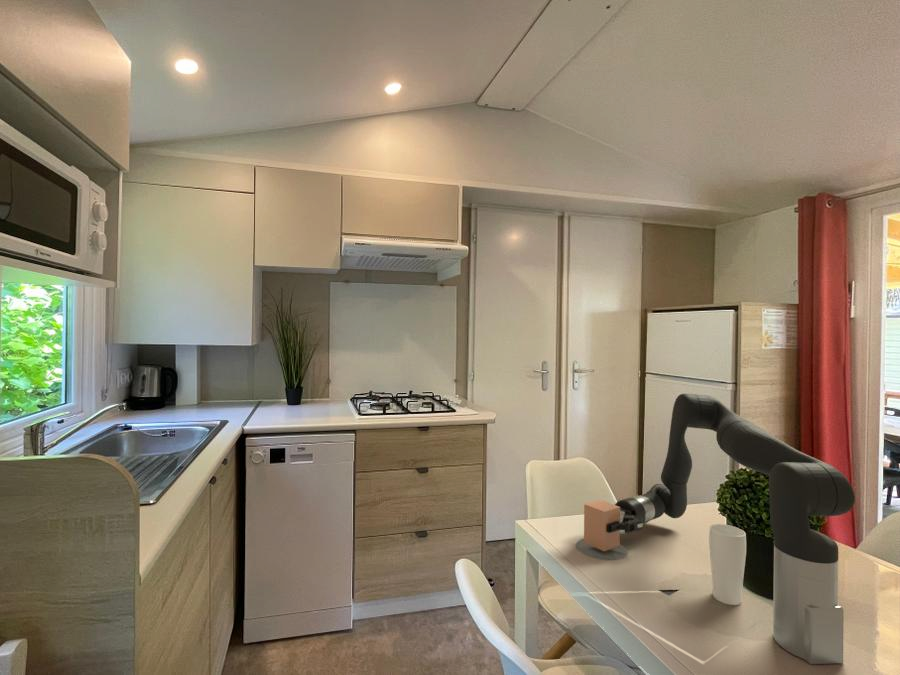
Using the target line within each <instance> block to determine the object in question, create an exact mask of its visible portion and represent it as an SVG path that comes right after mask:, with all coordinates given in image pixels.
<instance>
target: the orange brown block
mask: <svg viewBox="0 0 900 675" xmlns="http://www.w3.org/2000/svg"><path fill="white" fill-rule="evenodd" d="M583 505H584V506H583V509H584V511H583V521H584V522H583V539H584V542H585V543H587V544H590V545H592V546H594V547H596V548H598V549H600V550H602V551H607V550H609V549H612V548H614V547H617V546H619V545H620V544H621V531H615V532H611V533H608V532H607V531H606V530H607V524H608V523H611V522H614V521H617V520H619V519H620V507H619V506H616V505H615V504H614V503H609V502H607V501H604V500H601V499H598V500H594V501H591V502H587V503H584V504H583Z"/></svg>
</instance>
